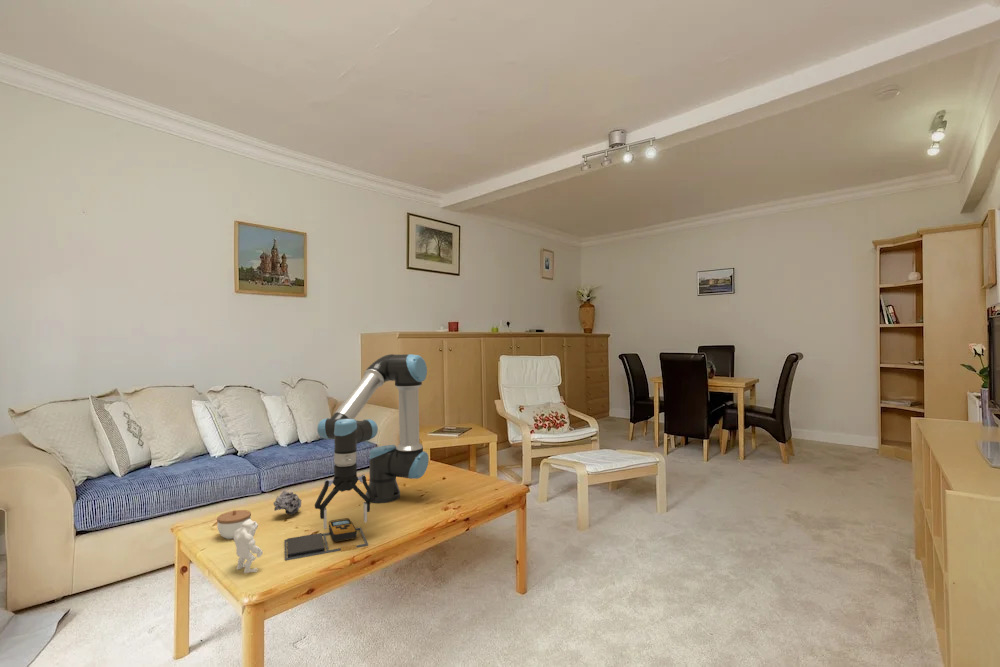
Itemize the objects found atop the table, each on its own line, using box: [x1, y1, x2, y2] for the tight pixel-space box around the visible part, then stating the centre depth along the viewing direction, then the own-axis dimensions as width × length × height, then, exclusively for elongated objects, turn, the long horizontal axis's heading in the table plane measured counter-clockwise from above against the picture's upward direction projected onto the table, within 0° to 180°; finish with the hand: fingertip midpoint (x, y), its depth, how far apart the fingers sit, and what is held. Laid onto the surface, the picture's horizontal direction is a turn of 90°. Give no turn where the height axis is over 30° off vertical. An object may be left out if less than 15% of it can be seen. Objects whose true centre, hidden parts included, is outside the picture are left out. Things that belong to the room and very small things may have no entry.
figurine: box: [233, 519, 263, 574], centre depth 147 cm, size 11×7×15 cm, turn 56°
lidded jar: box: [216, 509, 252, 540], centre depth 173 cm, size 11×11×9 cm
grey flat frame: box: [284, 527, 369, 562], centre depth 165 cm, size 17×26×2 cm, turn 115°
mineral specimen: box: [273, 490, 302, 516], centre depth 192 cm, size 12×9×10 cm
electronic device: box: [328, 517, 358, 543], centre depth 173 cm, size 8×16×3 cm, turn 26°
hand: (345, 524), depth 168 cm, fingers open, 13 cm apart
